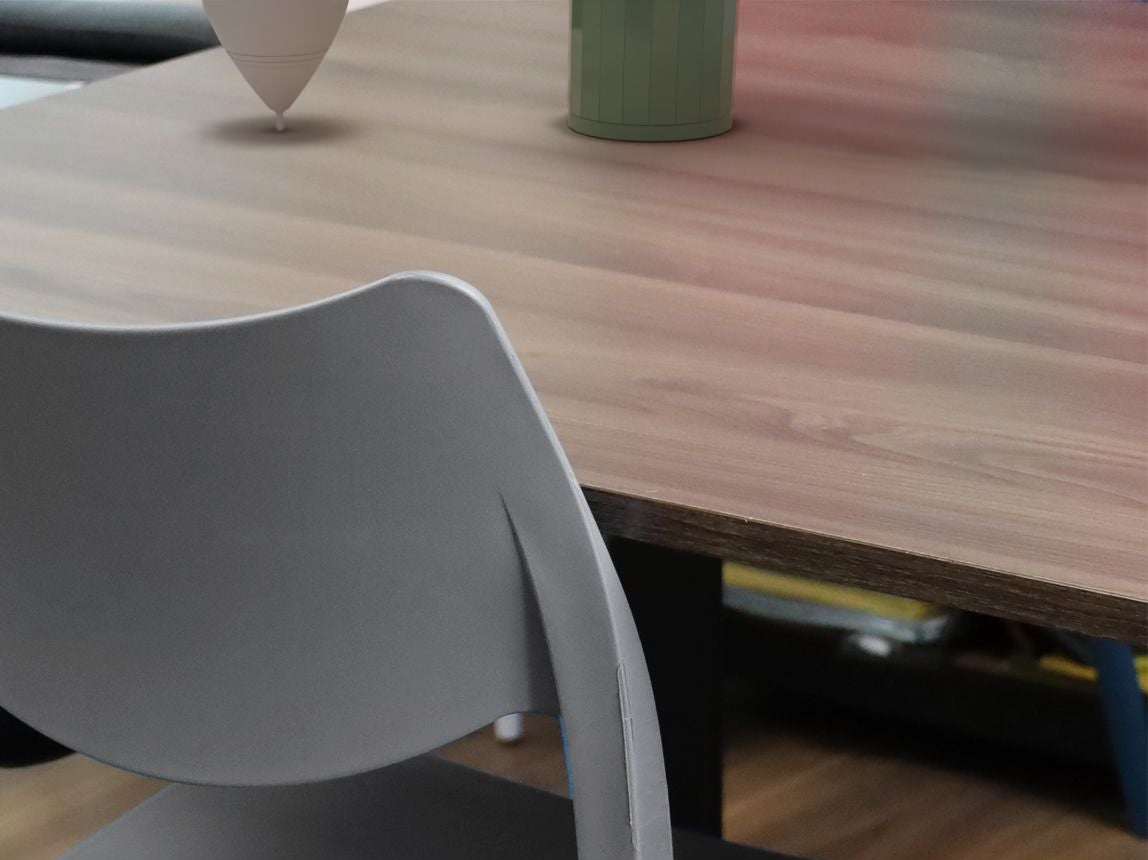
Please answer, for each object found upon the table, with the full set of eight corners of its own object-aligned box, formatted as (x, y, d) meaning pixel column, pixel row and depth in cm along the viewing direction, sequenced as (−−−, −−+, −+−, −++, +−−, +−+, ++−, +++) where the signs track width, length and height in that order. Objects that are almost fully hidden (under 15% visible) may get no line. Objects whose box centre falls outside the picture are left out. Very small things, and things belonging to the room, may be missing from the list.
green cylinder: (760, 118, 124) (772, -102, 119) (685, 148, 117) (694, -83, 113) (617, 102, 128) (623, -110, 123) (537, 130, 122) (540, -93, 117)
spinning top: (197, 119, 125) (186, -118, 120) (338, 112, 127) (332, -123, 121) (218, 149, 119) (206, -101, 113) (366, 141, 120) (361, -107, 115)
